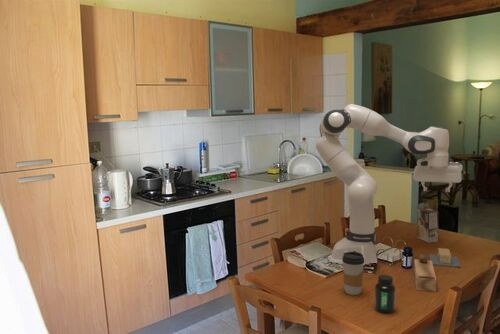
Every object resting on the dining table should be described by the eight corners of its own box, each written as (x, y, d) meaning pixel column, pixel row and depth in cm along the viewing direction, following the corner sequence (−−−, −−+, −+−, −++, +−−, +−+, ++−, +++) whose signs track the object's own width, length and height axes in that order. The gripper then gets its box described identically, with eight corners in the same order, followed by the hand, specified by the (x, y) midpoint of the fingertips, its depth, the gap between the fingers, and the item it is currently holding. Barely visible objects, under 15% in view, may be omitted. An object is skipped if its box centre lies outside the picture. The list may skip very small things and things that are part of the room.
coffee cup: (347, 285, 171) (348, 249, 168) (367, 290, 166) (368, 254, 163) (338, 292, 164) (338, 256, 162) (358, 298, 159) (358, 260, 157)
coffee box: (438, 241, 219) (439, 211, 216) (428, 243, 217) (429, 212, 215) (426, 236, 228) (427, 207, 225) (416, 237, 226) (417, 208, 223)
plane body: (416, 289, 165) (417, 270, 164) (413, 270, 184) (414, 252, 183) (435, 292, 163) (436, 272, 162) (431, 271, 182) (432, 254, 180)
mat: (431, 265, 189) (431, 263, 189) (428, 255, 200) (428, 254, 200) (460, 267, 185) (460, 266, 185) (456, 257, 196) (456, 256, 196)
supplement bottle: (386, 315, 146) (387, 283, 144) (370, 308, 152) (371, 276, 150) (398, 309, 150) (399, 277, 148) (382, 302, 156) (383, 271, 154)
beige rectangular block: (439, 263, 189) (440, 254, 188) (437, 256, 197) (438, 248, 197) (450, 264, 188) (451, 255, 187) (448, 257, 196) (448, 248, 195)
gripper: (461, 161, 192) (460, 191, 194) (413, 160, 199) (412, 189, 201) (464, 163, 186) (462, 193, 188) (414, 162, 193) (413, 192, 195)
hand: (436, 191), depth 195 cm, fingers open, 8 cm apart
